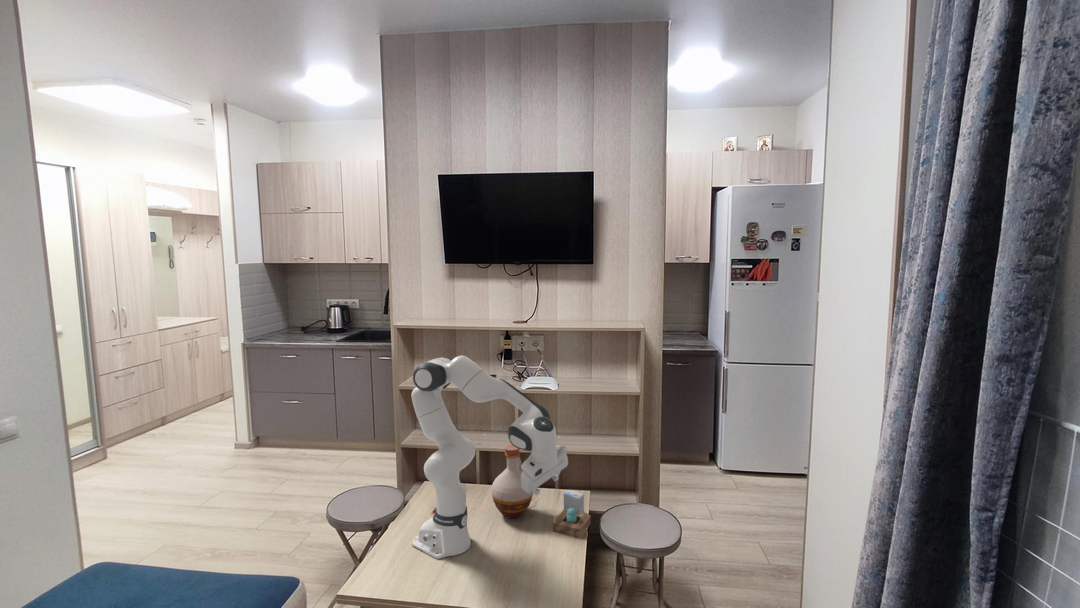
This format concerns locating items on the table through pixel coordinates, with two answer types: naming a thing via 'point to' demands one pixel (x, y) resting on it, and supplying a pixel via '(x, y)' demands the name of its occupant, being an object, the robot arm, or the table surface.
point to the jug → (511, 487)
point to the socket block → (571, 524)
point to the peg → (572, 516)
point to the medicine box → (574, 501)
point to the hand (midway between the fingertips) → (546, 486)
